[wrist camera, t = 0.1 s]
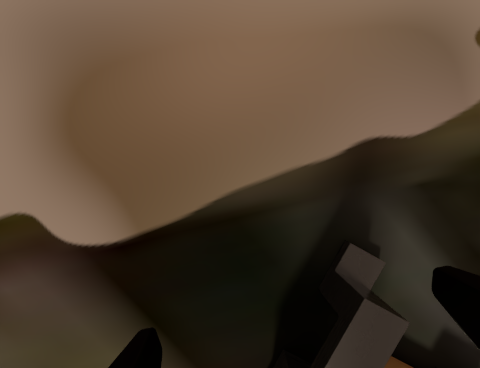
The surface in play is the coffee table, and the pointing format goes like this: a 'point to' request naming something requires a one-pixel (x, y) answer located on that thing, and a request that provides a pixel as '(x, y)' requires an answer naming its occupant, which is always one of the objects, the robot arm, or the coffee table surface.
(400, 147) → the coffee table surface
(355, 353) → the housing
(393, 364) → the plug
